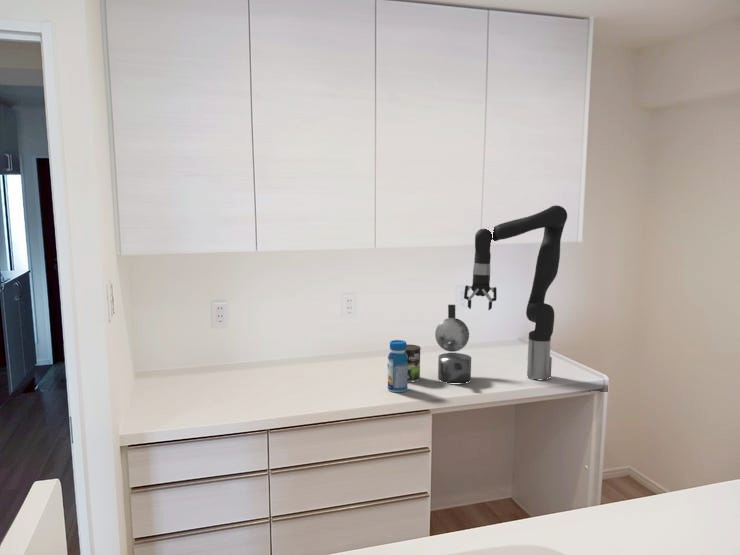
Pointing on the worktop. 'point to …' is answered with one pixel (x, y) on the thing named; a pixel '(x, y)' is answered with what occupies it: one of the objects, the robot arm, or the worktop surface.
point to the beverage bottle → (397, 366)
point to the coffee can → (413, 362)
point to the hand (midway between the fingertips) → (479, 309)
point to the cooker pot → (454, 368)
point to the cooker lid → (452, 332)
